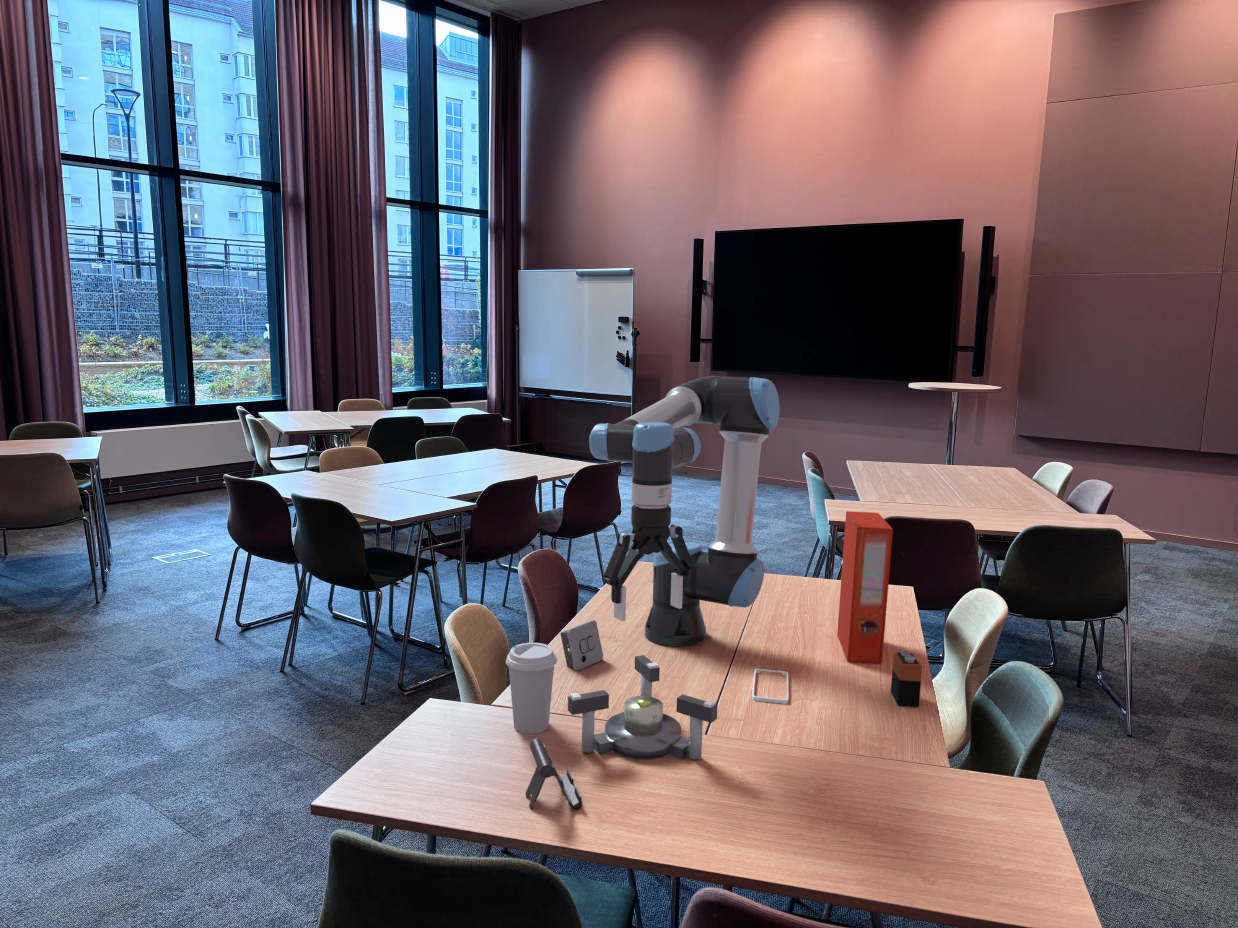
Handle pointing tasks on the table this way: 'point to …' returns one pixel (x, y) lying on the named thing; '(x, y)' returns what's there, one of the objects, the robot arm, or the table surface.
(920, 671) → the battery
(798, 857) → the table surface
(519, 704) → the coffee cup
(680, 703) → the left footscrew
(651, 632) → the robot arm
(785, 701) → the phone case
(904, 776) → the table surface
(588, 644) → the electrical switch
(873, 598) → the file binder
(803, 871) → the table surface
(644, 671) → the foot screw
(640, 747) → the levelling base
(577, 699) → the foot screw
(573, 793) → the portable electronic device stand
